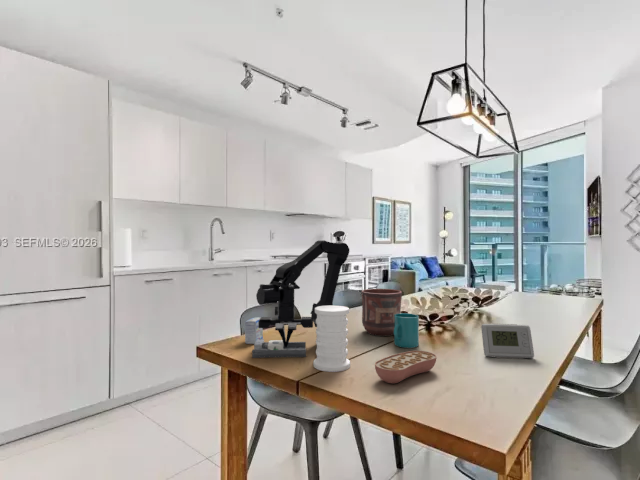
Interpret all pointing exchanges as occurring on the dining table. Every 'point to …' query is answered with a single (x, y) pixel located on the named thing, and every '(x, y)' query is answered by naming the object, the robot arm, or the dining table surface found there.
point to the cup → (406, 330)
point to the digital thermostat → (507, 341)
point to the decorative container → (331, 338)
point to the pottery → (380, 310)
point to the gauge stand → (279, 350)
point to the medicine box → (252, 331)
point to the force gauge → (274, 344)
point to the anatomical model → (404, 365)
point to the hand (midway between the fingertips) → (285, 346)
